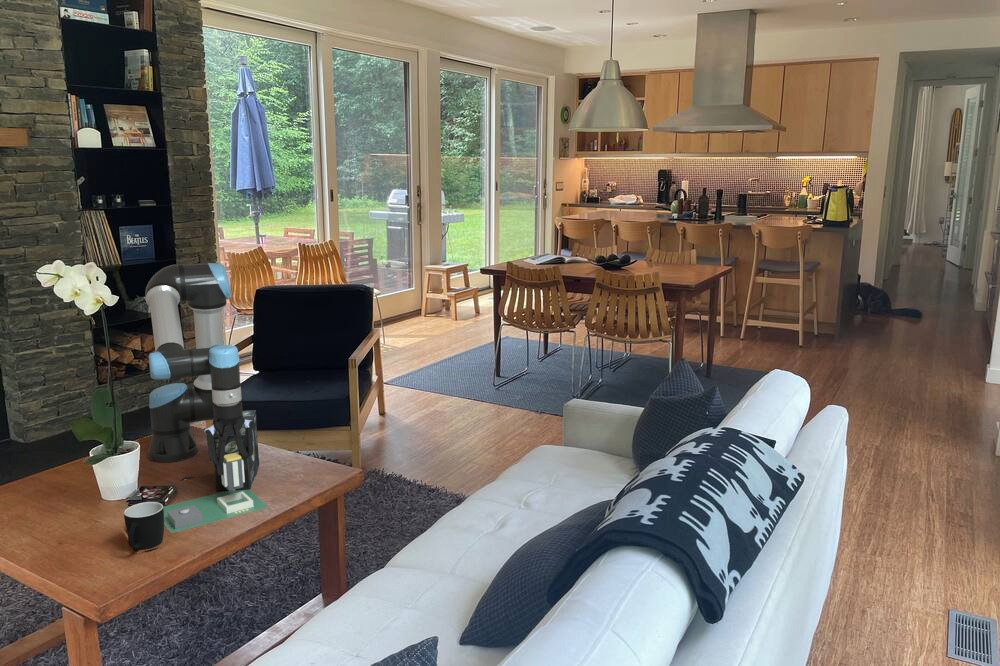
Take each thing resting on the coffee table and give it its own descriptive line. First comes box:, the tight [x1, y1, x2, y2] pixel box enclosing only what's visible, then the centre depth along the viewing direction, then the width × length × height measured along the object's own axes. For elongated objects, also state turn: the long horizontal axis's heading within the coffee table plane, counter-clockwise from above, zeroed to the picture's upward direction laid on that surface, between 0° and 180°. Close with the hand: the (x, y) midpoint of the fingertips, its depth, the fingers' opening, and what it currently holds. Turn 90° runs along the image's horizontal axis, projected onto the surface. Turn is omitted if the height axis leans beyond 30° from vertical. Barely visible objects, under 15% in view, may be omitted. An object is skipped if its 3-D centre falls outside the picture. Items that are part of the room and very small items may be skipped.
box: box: [213, 409, 260, 493], centre depth 233 cm, size 23×10×19 cm, turn 11°
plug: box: [223, 453, 243, 491], centre depth 212 cm, size 5×4×9 cm
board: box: [163, 489, 269, 534], centre depth 212 cm, size 18×26×4 cm
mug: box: [123, 501, 165, 553], centre depth 190 cm, size 12×9×10 cm
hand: (233, 482), depth 212 cm, fingers closed on plug, 4 cm apart
